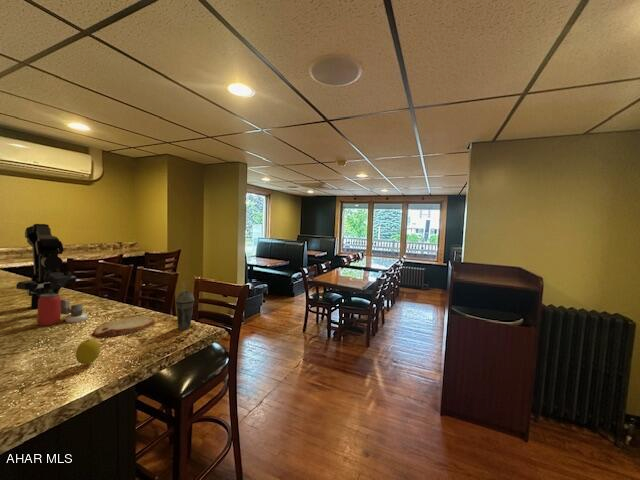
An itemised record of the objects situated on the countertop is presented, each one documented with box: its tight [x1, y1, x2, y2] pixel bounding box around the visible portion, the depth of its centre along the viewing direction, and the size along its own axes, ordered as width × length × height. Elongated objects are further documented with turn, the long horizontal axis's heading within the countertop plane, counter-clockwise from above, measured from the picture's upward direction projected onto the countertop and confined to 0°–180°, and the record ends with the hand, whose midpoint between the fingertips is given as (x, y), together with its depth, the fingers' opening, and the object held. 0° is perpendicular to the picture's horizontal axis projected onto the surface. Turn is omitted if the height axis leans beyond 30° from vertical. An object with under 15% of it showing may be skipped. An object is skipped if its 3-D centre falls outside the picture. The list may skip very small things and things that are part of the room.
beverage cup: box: [175, 281, 195, 331], centre depth 114 cm, size 7×7×20 cm
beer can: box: [37, 292, 62, 327], centre depth 110 cm, size 7×7×12 cm
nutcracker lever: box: [45, 289, 84, 316], centre depth 118 cm, size 22×4×9 cm, turn 73°
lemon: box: [75, 338, 101, 366], centre depth 81 cm, size 6×6×8 cm
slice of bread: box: [92, 315, 155, 339], centre depth 110 cm, size 18×18×4 cm
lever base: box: [65, 312, 88, 324], centre depth 115 cm, size 7×7×2 cm
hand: (48, 300), depth 120 cm, fingers open, 3 cm apart
